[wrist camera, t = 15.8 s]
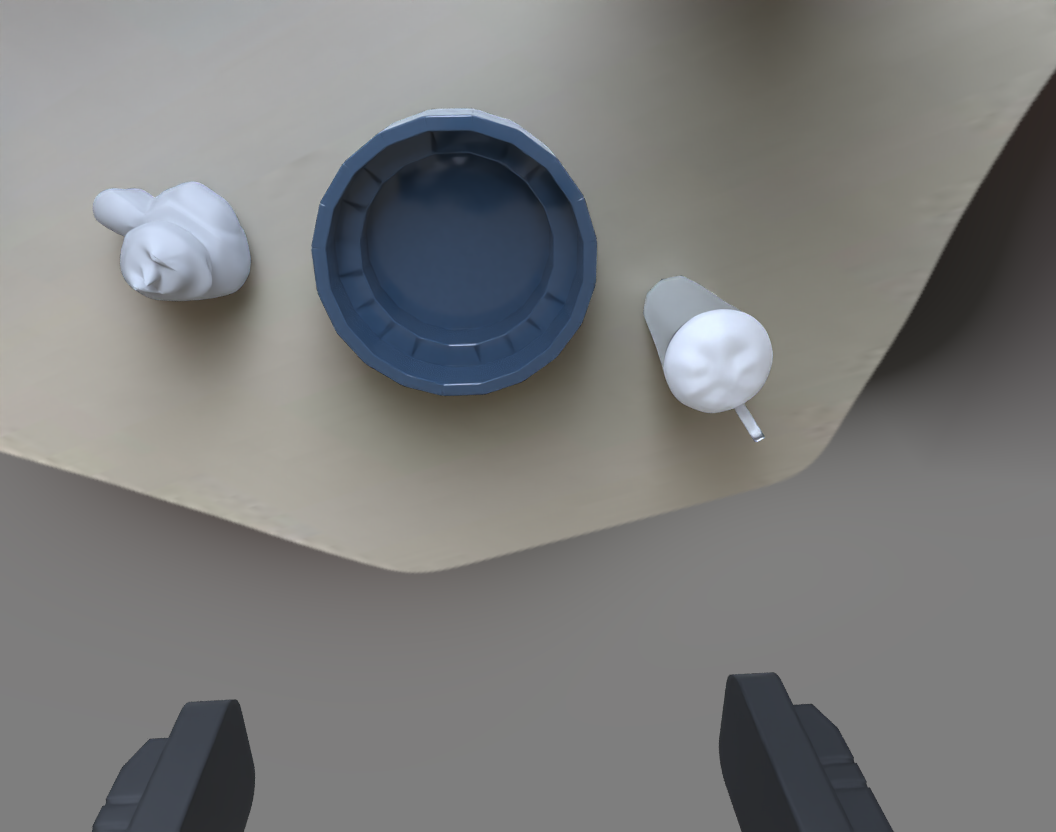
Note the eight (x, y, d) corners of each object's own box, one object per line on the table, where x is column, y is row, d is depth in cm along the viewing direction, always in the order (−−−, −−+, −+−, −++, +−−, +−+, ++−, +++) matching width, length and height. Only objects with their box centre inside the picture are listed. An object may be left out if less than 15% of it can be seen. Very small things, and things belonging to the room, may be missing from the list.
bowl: (318, 110, 34) (293, 117, 30) (584, 105, 35) (600, 112, 30) (348, 360, 39) (331, 400, 35) (580, 352, 40) (593, 391, 35)
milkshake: (658, 374, 41) (709, 465, 32) (615, 289, 39) (657, 359, 30) (736, 335, 40) (811, 415, 31) (697, 245, 38) (766, 304, 29)
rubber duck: (229, 313, 38) (170, 373, 31) (102, 233, 36) (7, 277, 29) (285, 225, 36) (236, 266, 29) (155, 136, 34) (68, 156, 27)
